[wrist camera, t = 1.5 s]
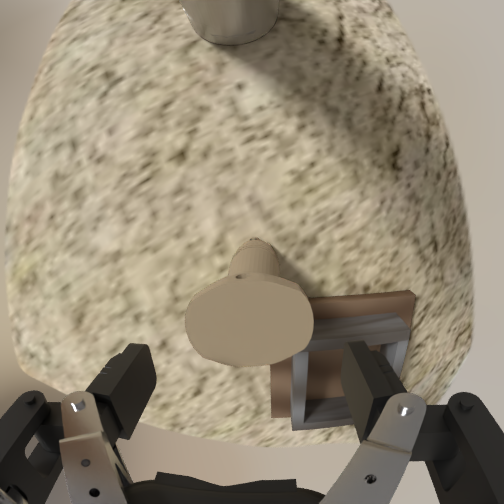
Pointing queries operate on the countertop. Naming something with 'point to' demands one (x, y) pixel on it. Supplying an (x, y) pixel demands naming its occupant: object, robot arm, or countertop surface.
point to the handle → (250, 312)
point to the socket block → (338, 355)
